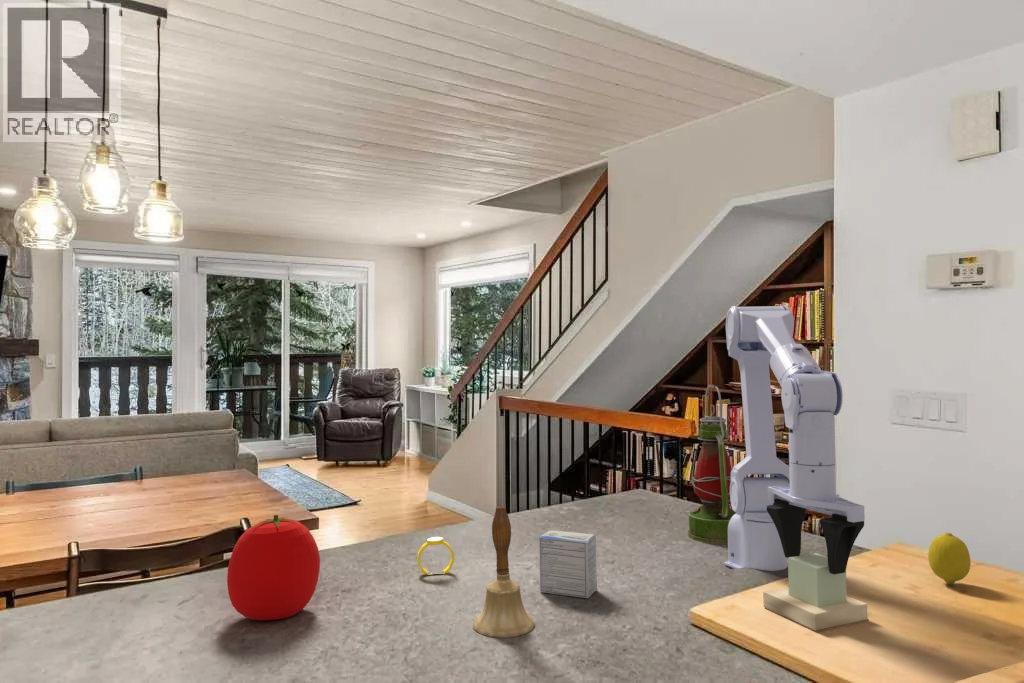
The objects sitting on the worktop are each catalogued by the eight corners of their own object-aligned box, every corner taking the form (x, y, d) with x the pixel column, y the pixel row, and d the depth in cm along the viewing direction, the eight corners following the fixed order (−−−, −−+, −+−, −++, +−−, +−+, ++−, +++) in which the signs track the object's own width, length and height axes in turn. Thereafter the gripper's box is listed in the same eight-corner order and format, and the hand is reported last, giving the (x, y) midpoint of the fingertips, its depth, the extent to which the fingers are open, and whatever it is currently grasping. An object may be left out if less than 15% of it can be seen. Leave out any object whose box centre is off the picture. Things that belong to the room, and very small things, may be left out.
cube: (788, 594, 93) (788, 557, 93) (816, 589, 95) (816, 553, 95) (817, 607, 89) (817, 568, 89) (846, 601, 91) (846, 563, 91)
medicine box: (597, 590, 106) (596, 534, 106) (588, 600, 102) (587, 541, 102) (549, 584, 109) (549, 529, 110) (539, 593, 105) (538, 536, 106)
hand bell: (513, 643, 87) (512, 516, 88) (460, 629, 92) (459, 509, 92) (545, 621, 94) (544, 503, 95) (495, 610, 99) (493, 497, 99)
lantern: (678, 528, 143) (675, 383, 144) (728, 527, 144) (725, 383, 144) (699, 547, 129) (697, 386, 130) (755, 545, 130) (752, 385, 130)
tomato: (231, 638, 90) (230, 528, 90) (223, 610, 100) (223, 511, 100) (329, 619, 96) (328, 517, 96) (312, 595, 106) (311, 502, 106)
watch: (419, 579, 113) (416, 543, 113) (418, 574, 116) (415, 539, 116) (455, 574, 114) (452, 538, 114) (453, 569, 117) (450, 534, 117)
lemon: (977, 591, 104) (976, 537, 104) (937, 589, 105) (935, 536, 105) (961, 579, 109) (960, 528, 109) (923, 577, 110) (922, 527, 110)
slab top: (763, 606, 95) (763, 591, 95) (813, 597, 98) (812, 583, 98) (815, 630, 86) (815, 614, 86) (867, 619, 90) (867, 603, 90)
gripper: (881, 468, 87) (883, 576, 87) (793, 453, 101) (795, 546, 101) (840, 472, 85) (842, 584, 84) (755, 456, 98) (757, 553, 98)
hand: (814, 564), depth 92 cm, fingers open, 7 cm apart
